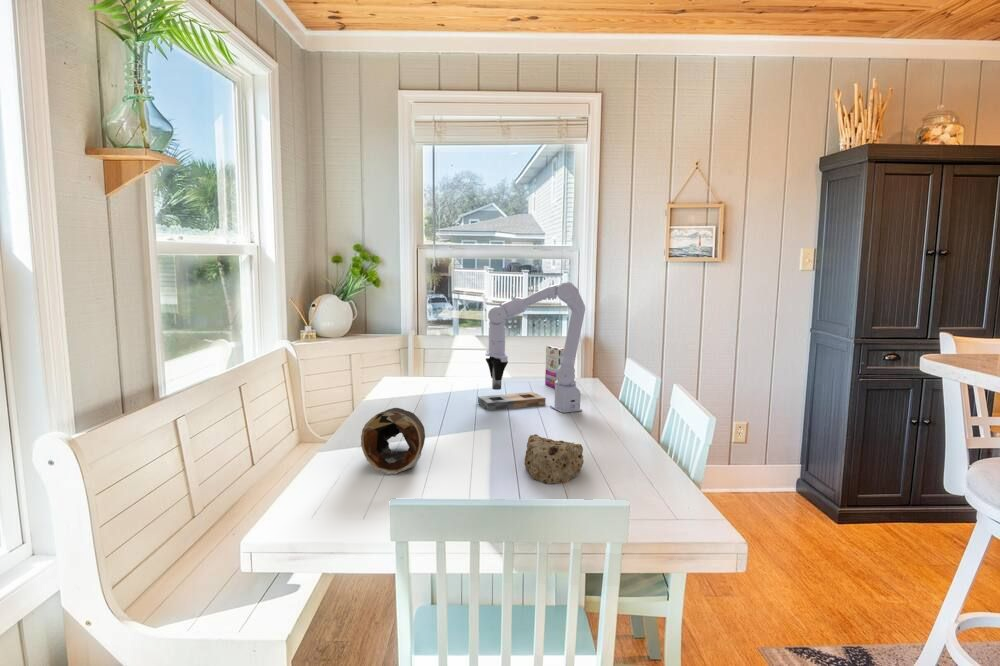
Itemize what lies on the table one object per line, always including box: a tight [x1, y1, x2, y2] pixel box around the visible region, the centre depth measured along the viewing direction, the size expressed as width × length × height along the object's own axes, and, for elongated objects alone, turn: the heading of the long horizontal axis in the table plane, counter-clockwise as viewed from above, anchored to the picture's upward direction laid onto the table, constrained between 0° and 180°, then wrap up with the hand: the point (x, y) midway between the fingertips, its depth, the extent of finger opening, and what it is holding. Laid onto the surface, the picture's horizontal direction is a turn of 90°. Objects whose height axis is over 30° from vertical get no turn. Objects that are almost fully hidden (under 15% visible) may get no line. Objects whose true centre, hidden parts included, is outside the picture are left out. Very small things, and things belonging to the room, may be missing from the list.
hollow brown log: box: [360, 407, 426, 475], centre depth 155 cm, size 15×15×25 cm
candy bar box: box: [544, 345, 564, 389], centre depth 242 cm, size 11×5×16 cm, turn 25°
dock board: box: [477, 391, 546, 411], centre depth 213 cm, size 10×22×2 cm, turn 113°
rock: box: [524, 434, 584, 485], centre depth 148 cm, size 21×14×10 cm
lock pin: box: [491, 368, 502, 391], centre depth 210 cm, size 3×3×8 cm
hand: (496, 379), depth 210 cm, fingers closed on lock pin, 3 cm apart
